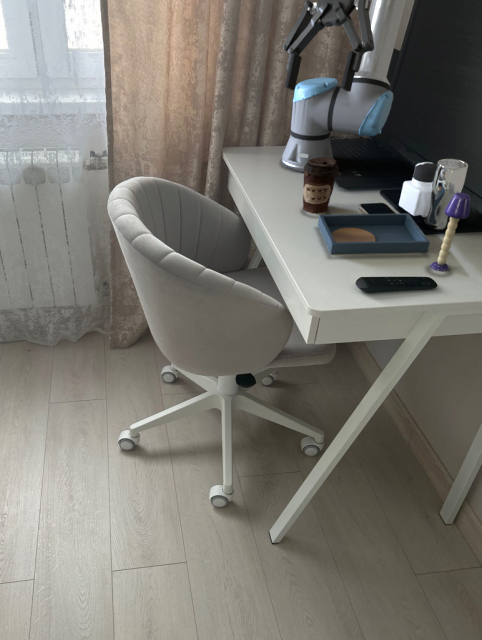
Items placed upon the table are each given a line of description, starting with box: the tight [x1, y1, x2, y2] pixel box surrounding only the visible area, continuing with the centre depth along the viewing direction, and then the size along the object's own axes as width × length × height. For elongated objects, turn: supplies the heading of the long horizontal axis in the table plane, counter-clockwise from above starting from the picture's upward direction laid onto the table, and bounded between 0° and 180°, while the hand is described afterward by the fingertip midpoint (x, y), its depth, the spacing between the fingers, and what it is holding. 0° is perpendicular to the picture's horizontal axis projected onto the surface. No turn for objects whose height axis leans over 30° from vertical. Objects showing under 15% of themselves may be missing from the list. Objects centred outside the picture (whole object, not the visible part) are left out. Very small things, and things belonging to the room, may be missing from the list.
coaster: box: [332, 228, 375, 242], centre depth 131 cm, size 10×10×1 cm
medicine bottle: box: [398, 161, 438, 218], centre depth 140 cm, size 7×7×12 cm
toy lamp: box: [429, 192, 471, 273], centre depth 116 cm, size 5×5×17 cm
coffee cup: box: [302, 157, 339, 215], centre depth 140 cm, size 9×8×13 cm
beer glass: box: [423, 158, 469, 232], centre depth 133 cm, size 7×7×15 cm
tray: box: [317, 212, 431, 255], centre depth 130 cm, size 15×22×4 cm
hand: (316, 89), depth 116 cm, fingers open, 13 cm apart
